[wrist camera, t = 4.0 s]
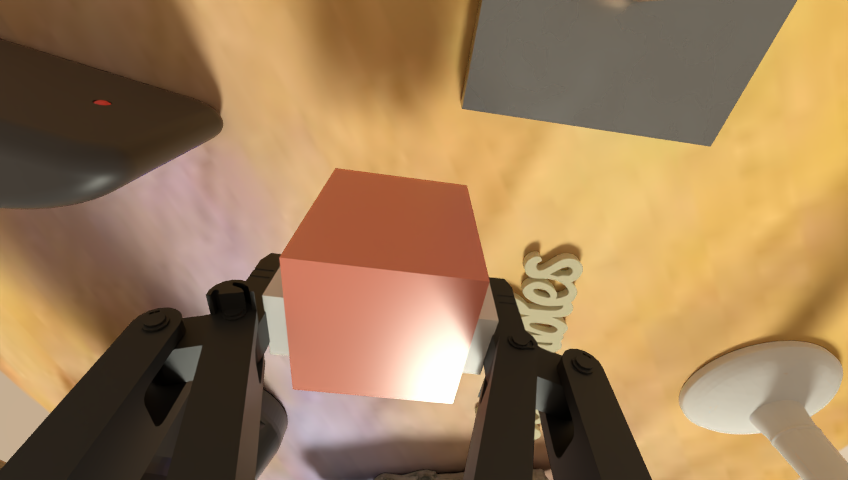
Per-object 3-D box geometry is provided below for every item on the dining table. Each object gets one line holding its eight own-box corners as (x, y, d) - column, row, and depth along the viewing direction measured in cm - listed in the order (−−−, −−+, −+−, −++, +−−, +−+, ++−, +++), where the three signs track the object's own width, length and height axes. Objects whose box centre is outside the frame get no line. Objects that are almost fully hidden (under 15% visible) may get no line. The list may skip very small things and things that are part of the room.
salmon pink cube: (335, 273, 19) (292, 389, 13) (335, 168, 16) (279, 257, 10) (445, 285, 19) (452, 403, 13) (466, 185, 16) (489, 281, 10)
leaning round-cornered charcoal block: (-46, 94, 21) (-343, 141, 13) (-81, 6, 18) (-474, -3, 11) (232, 174, 23) (123, 256, 15) (233, 104, 21) (104, 159, 13)
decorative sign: (564, 449, 39) (473, 447, 39) (561, 440, 39) (473, 439, 40) (629, 255, 24) (485, 257, 25) (623, 247, 25) (484, 249, 26)
